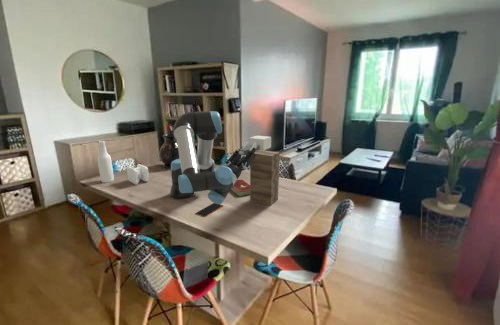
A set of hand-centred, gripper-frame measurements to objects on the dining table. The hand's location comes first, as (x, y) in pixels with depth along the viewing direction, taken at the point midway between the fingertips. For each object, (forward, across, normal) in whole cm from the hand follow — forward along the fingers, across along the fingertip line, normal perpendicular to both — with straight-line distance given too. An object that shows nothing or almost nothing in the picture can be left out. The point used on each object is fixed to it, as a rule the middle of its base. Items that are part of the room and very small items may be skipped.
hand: (251, 143), depth 139 cm
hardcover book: (+1, -22, -45) cm, 50 cm away
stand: (-6, 0, -40) cm, 41 cm away
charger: (-1, 0, -4) cm, 4 cm away
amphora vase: (+16, -104, -53) cm, 118 cm away
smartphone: (-30, -20, -27) cm, 45 cm away
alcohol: (-29, -117, -27) cm, 124 cm away
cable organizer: (-20, -96, -33) cm, 103 cm away
